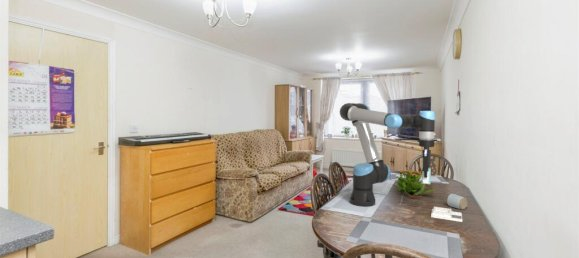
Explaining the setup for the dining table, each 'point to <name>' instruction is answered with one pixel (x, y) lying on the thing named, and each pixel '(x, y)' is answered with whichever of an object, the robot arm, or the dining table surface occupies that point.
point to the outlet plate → (446, 214)
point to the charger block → (429, 176)
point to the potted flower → (411, 184)
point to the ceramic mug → (457, 201)
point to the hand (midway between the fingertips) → (426, 182)
